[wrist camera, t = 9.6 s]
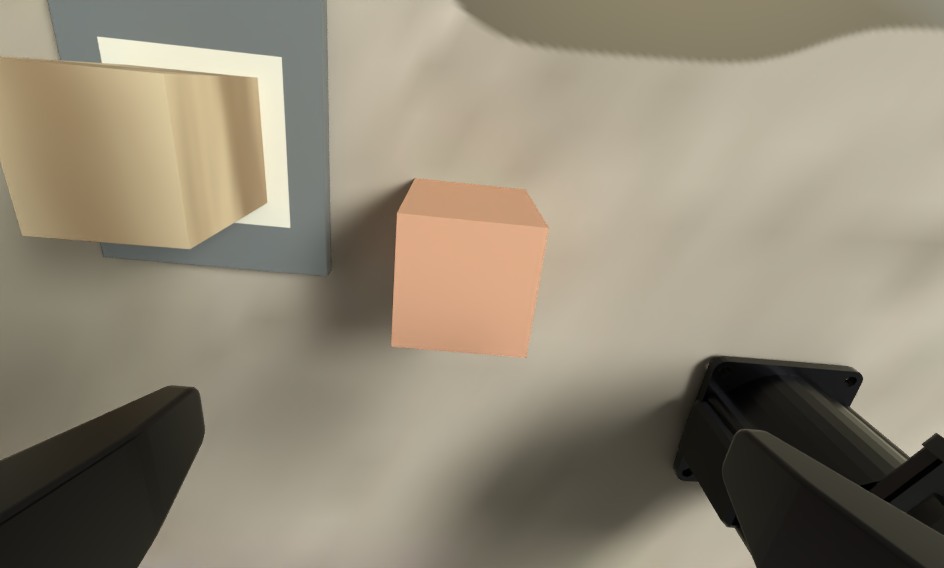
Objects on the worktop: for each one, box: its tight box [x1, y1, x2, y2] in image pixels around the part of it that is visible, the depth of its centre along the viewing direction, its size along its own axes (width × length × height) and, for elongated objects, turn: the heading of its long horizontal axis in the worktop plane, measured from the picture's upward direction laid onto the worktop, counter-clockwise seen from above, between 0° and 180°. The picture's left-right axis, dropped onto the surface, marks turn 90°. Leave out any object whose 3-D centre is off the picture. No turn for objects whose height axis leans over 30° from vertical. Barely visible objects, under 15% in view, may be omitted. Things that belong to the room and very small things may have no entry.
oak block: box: [0, 57, 267, 249], centre depth 13 cm, size 4×4×5 cm
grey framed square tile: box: [48, 0, 331, 276], centre depth 16 cm, size 8×9×1 cm
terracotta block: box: [391, 178, 549, 358], centre depth 15 cm, size 4×4×5 cm
